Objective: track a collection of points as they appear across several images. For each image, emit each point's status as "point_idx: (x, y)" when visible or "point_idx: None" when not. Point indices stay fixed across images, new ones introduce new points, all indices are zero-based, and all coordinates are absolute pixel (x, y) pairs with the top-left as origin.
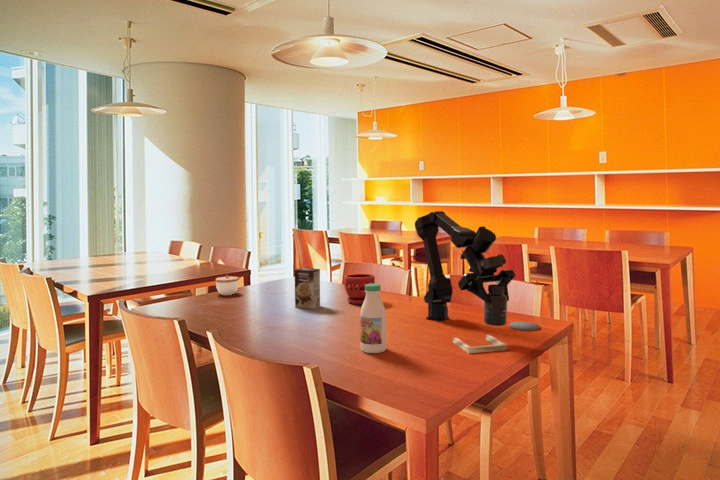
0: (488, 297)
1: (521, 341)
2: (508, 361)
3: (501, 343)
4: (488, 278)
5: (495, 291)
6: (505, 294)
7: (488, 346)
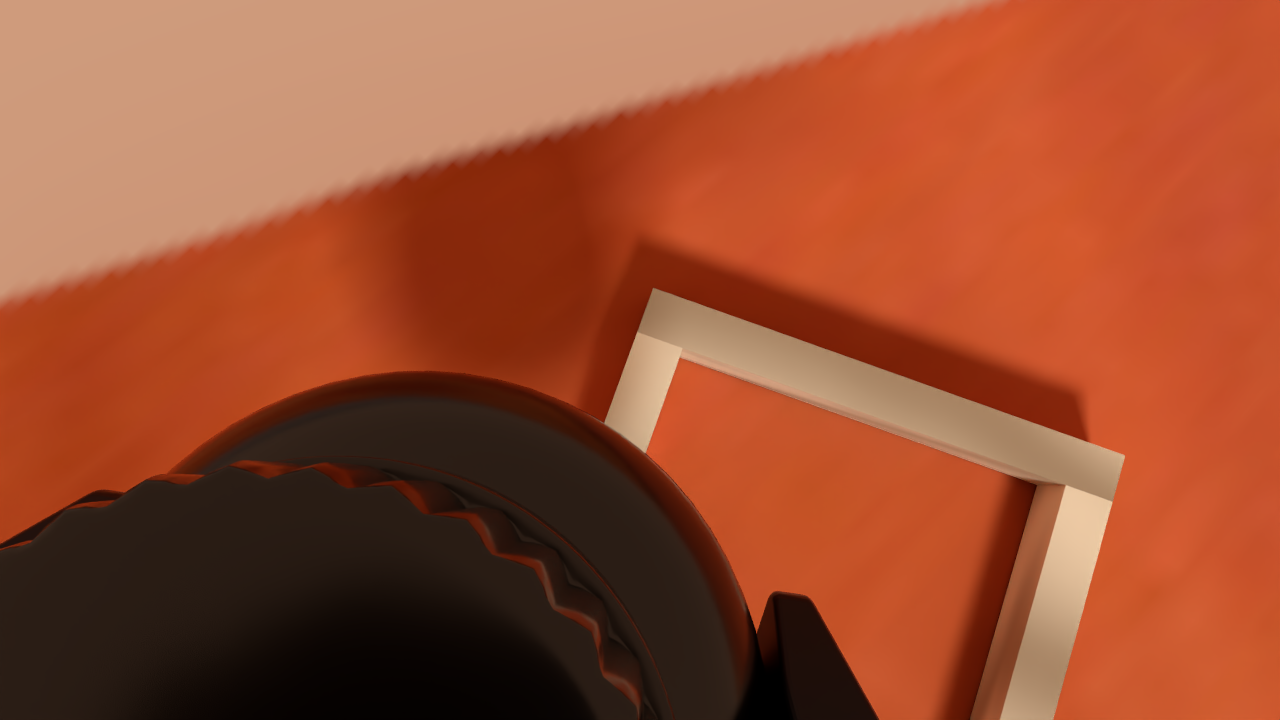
0: (810, 692)
1: None
2: (913, 55)
3: (659, 367)
4: None
5: (610, 584)
6: None
7: (874, 373)
